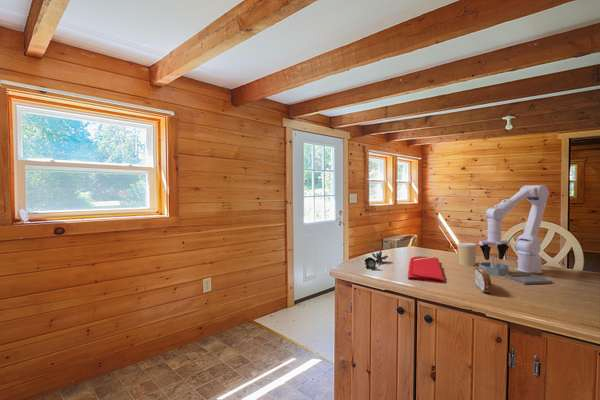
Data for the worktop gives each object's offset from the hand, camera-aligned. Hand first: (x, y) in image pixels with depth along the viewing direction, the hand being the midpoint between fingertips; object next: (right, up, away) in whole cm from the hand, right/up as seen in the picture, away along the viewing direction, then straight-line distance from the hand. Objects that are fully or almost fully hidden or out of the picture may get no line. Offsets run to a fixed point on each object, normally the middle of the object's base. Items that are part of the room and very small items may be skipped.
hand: (493, 259), depth 152 cm
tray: (+7, -7, -13) cm, 17 cm away
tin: (-20, -8, -24) cm, 33 cm away
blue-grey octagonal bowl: (0, -7, 0) cm, 7 cm away
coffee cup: (-5, -7, +16) cm, 18 cm away
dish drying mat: (-32, -8, +6) cm, 33 cm away
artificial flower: (-54, -7, +18) cm, 58 cm away
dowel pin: (0, -6, 0) cm, 6 cm away
